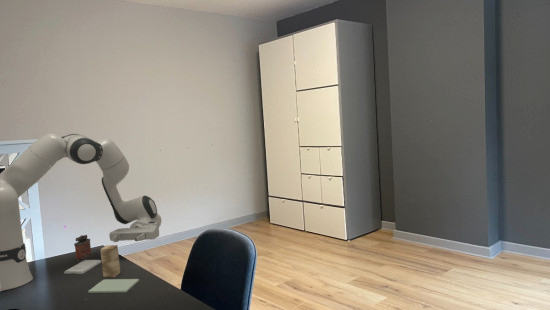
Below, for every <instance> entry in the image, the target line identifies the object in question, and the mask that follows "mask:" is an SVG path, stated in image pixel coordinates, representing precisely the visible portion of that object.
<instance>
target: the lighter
mask: <svg viewBox="0 0 550 310" xmlns="http://www.w3.org/2000/svg"><path fill="white" fill-rule="evenodd" d="M73 245H74V249H75V261H76V262H82V261H84V260H87V259H88V258H90V257H92V255H93V253H92V249H91V248H92V247H91V238H88V234H83V235H80V236H78V237H75V243H73Z"/></svg>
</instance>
